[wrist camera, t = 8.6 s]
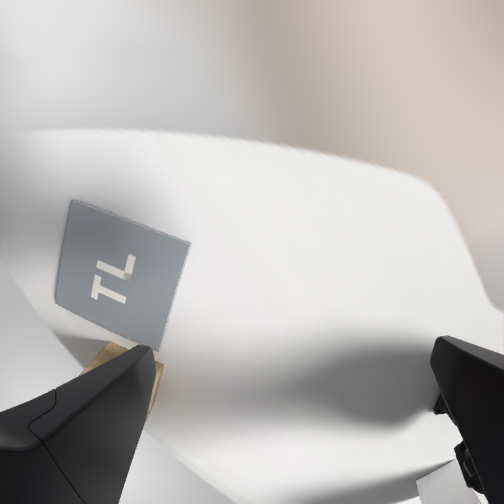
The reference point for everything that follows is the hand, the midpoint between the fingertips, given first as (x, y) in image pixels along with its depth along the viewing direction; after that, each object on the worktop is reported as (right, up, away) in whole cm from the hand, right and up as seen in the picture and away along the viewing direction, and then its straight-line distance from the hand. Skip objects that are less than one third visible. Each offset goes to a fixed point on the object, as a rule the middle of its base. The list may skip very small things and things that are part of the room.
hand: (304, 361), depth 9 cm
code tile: (-12, +1, +14) cm, 18 cm away
